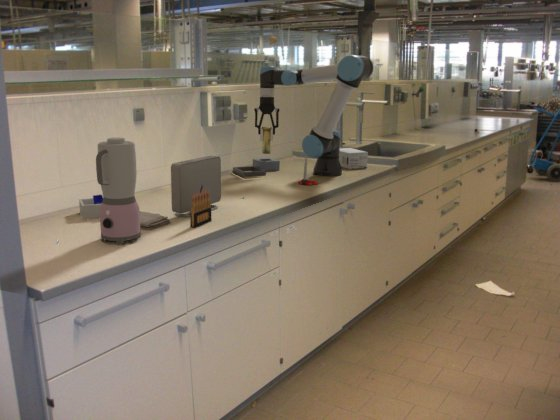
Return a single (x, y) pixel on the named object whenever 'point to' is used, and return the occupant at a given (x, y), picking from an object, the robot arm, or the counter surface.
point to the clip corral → (89, 208)
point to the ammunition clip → (200, 209)
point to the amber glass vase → (266, 140)
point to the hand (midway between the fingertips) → (266, 140)
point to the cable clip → (98, 199)
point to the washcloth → (152, 220)
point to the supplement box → (352, 158)
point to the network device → (195, 182)
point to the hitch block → (267, 164)
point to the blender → (118, 190)
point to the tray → (241, 170)
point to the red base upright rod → (304, 181)
